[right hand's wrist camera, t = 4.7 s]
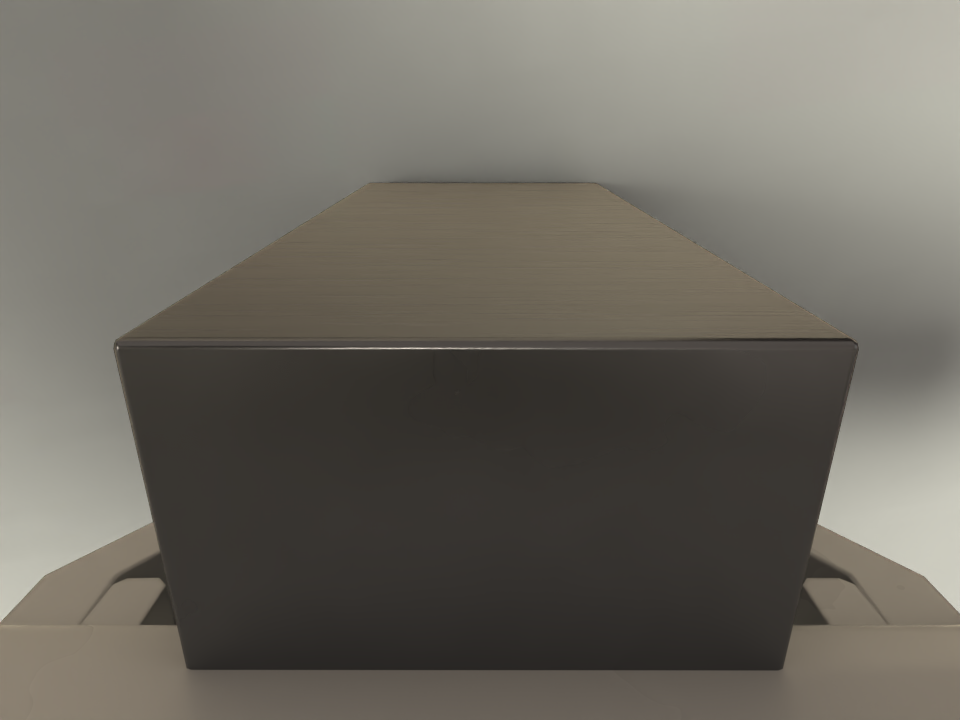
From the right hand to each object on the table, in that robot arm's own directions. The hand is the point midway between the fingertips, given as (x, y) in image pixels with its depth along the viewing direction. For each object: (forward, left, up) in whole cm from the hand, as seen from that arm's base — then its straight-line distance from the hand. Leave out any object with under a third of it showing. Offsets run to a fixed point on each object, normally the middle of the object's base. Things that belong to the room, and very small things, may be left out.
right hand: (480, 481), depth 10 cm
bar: (+8, 0, -4) cm, 9 cm away
